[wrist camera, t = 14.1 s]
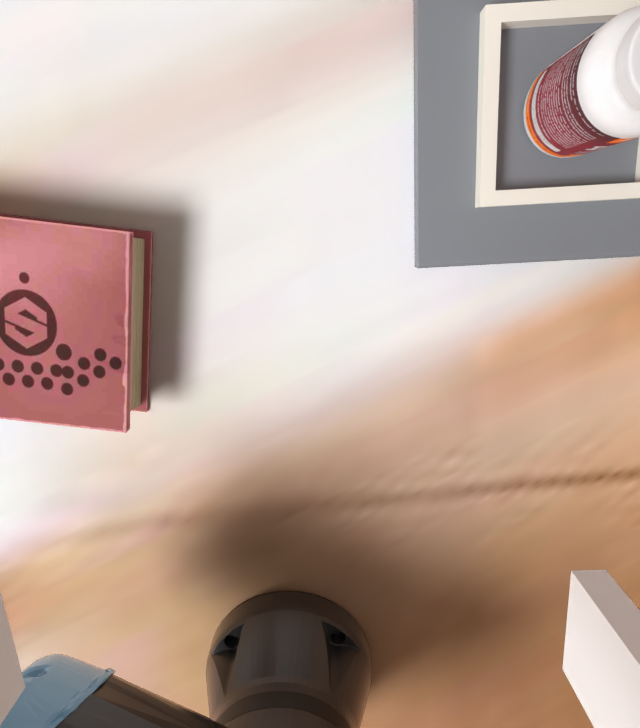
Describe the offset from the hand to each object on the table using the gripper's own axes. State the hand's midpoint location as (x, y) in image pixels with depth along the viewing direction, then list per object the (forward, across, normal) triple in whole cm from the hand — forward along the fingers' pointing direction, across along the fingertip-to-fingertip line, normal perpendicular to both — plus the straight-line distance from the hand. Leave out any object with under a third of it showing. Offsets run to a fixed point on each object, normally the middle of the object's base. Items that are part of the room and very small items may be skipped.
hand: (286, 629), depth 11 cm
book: (+29, +20, -4) cm, 36 cm away
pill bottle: (+27, -18, -16) cm, 36 cm away
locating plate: (+29, -18, -16) cm, 37 cm away
